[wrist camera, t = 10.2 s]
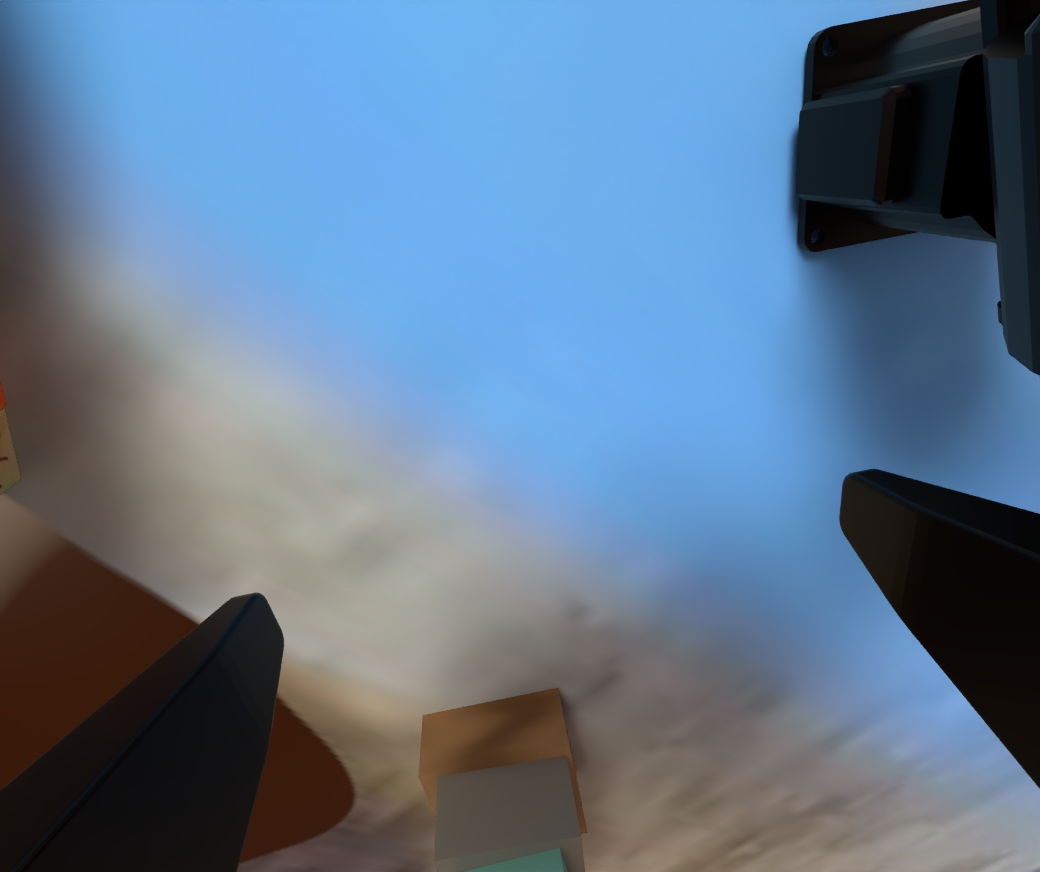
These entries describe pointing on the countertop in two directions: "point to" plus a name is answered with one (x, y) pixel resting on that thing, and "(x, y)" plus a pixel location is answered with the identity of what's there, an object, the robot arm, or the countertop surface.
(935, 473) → the countertop surface
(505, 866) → the teal block
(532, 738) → the walnut base block
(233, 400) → the countertop surface
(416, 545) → the countertop surface
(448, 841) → the charcoal block
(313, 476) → the countertop surface
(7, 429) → the stack of blocks
